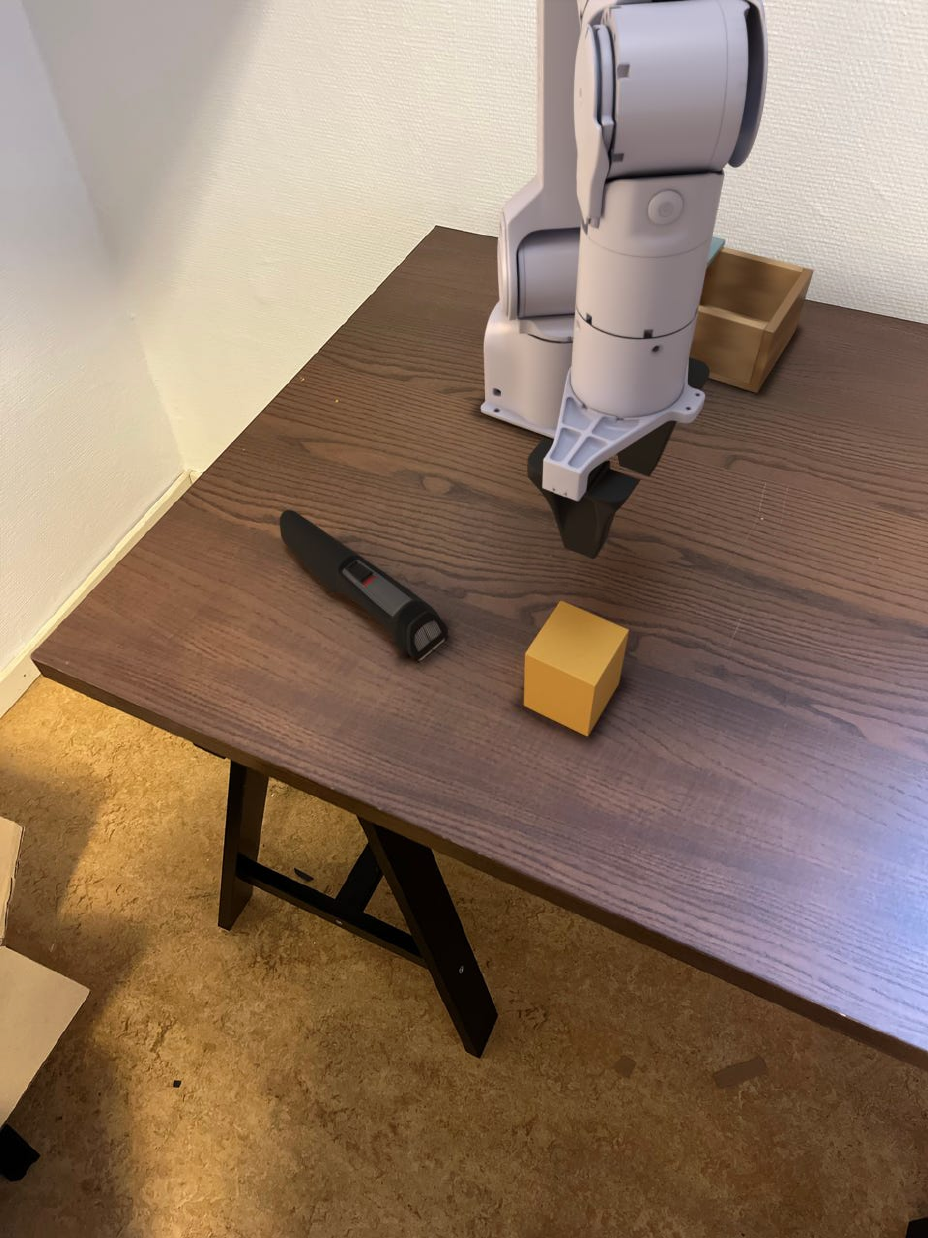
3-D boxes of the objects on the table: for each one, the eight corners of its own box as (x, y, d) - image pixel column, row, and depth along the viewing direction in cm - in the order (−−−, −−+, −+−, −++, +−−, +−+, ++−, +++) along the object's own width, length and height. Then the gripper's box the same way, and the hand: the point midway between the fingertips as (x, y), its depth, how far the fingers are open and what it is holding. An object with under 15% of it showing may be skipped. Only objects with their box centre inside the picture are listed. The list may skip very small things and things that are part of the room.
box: (647, 359, 76) (657, 298, 71) (691, 301, 81) (702, 240, 76) (757, 393, 73) (774, 332, 68) (795, 330, 78) (814, 269, 73)
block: (523, 705, 55) (524, 653, 51) (556, 654, 58) (560, 600, 53) (587, 737, 54) (595, 686, 49) (619, 683, 56) (629, 629, 51)
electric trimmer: (312, 524, 66) (304, 494, 64) (452, 634, 59) (449, 606, 57) (273, 551, 65) (263, 522, 62) (412, 667, 58) (407, 640, 55)
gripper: (653, 418, 35) (620, 617, 46) (771, 249, 43) (718, 455, 53) (504, 369, 38) (505, 569, 49) (640, 216, 45) (615, 420, 56)
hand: (609, 507), depth 51 cm, fingers open, 7 cm apart
